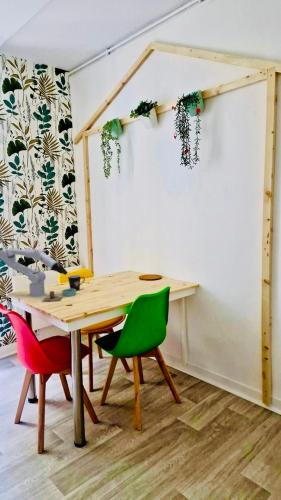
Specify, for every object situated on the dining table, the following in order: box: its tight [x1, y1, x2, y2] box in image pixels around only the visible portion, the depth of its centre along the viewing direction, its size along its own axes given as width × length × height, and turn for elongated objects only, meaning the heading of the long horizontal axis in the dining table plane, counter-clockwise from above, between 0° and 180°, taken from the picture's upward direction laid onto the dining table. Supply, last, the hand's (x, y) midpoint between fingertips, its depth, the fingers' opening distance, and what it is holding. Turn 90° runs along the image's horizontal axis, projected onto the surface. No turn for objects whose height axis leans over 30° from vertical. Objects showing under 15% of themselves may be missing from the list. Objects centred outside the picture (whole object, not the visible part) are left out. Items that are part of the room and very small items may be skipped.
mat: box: [41, 296, 64, 303], centre depth 215 cm, size 12×10×1 cm
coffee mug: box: [67, 274, 85, 292], centre depth 240 cm, size 12×9×10 cm
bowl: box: [61, 288, 77, 298], centre depth 225 cm, size 9×9×4 cm
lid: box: [43, 290, 61, 303], centre depth 215 cm, size 10×10×5 cm
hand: (64, 273), depth 221 cm, fingers open, 7 cm apart
